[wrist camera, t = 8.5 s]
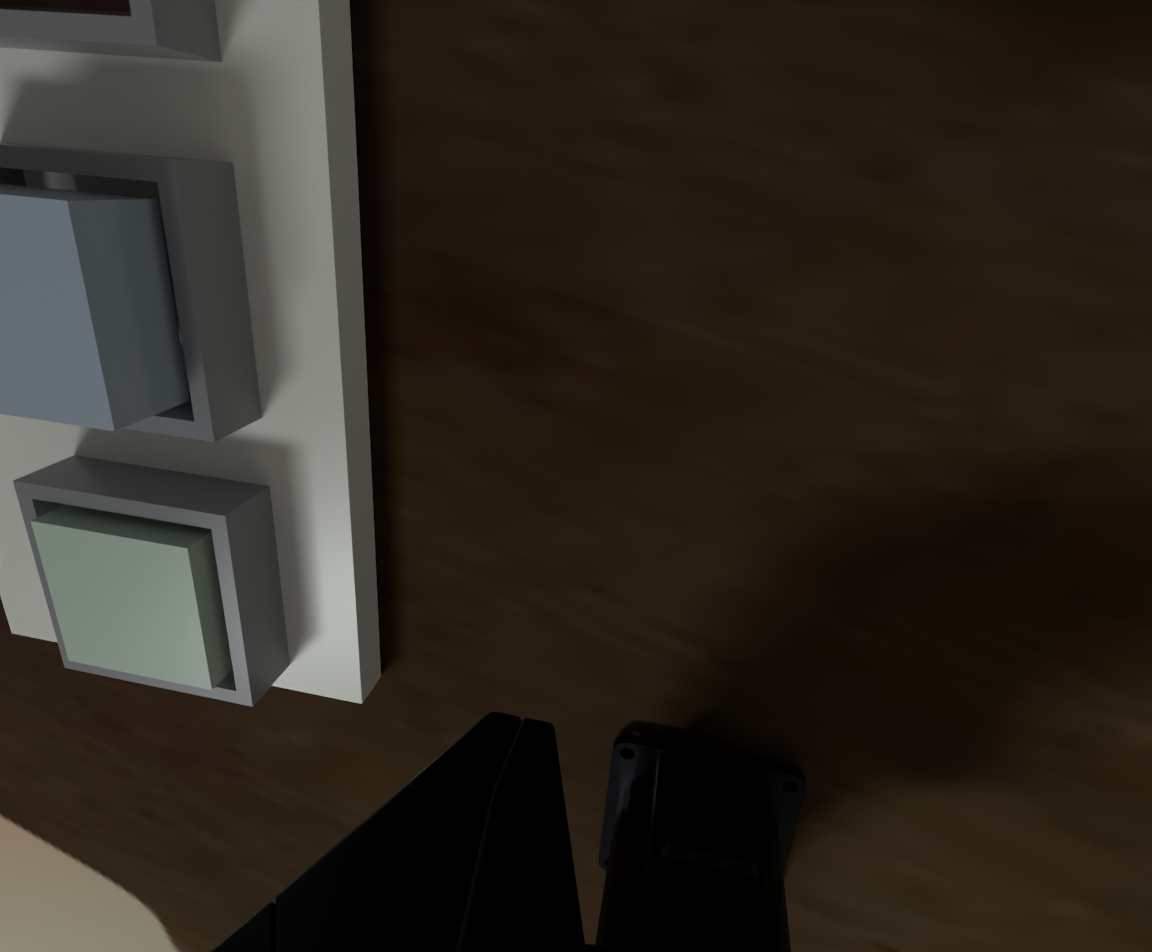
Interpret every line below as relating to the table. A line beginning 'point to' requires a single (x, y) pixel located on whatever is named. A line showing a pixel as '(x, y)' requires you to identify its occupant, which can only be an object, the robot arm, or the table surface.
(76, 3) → the three dot button
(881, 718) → the table surface
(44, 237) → the two dot button
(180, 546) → the one dot button
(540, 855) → the robot arm
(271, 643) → the button board
